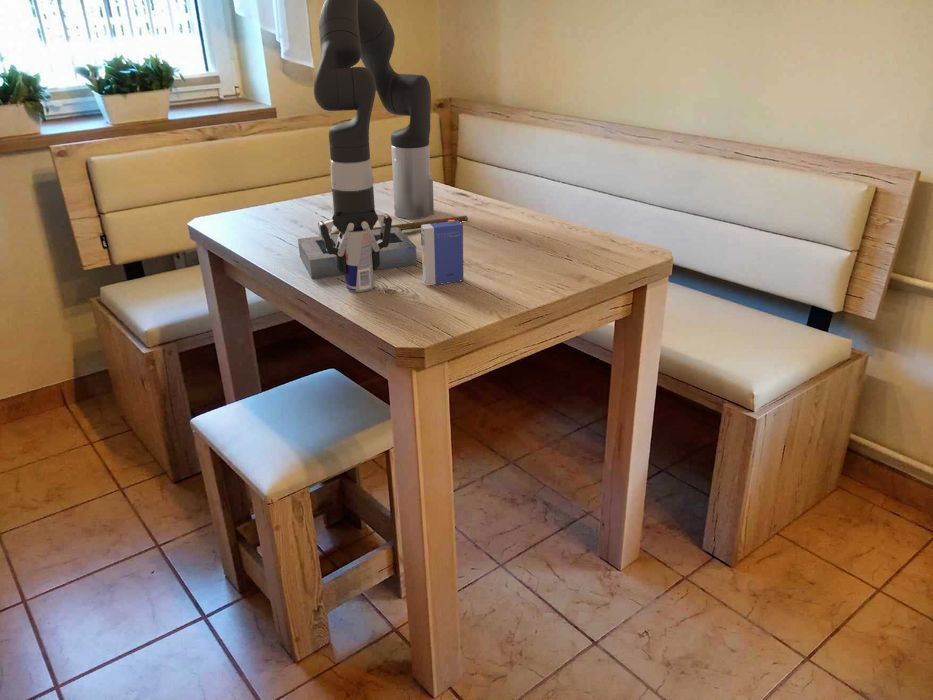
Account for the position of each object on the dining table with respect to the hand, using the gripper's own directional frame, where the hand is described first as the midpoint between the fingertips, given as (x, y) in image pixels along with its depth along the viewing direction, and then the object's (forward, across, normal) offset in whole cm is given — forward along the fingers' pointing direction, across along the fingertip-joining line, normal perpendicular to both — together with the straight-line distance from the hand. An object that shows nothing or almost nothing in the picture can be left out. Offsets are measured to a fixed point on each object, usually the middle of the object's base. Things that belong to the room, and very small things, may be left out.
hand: (358, 270), depth 144 cm
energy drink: (+4, 0, 0) cm, 4 cm away
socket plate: (+3, -3, -15) cm, 16 cm away
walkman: (+4, -16, +3) cm, 17 cm away
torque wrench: (+4, -17, -30) cm, 34 cm away
